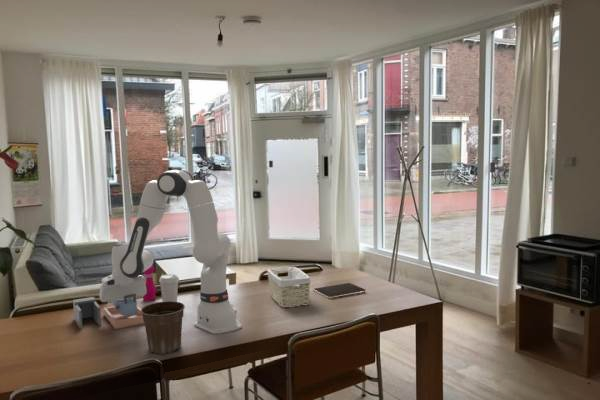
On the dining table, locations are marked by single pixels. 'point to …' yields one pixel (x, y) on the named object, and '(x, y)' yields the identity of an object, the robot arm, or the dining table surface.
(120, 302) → the small pale blue carton
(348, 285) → the hardcover book
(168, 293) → the coffee cup
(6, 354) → the dining table surface
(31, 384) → the dining table surface
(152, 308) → the plant pot
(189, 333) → the dining table surface
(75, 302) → the bay
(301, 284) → the storage basket
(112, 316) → the tray
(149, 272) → the pepper mill
